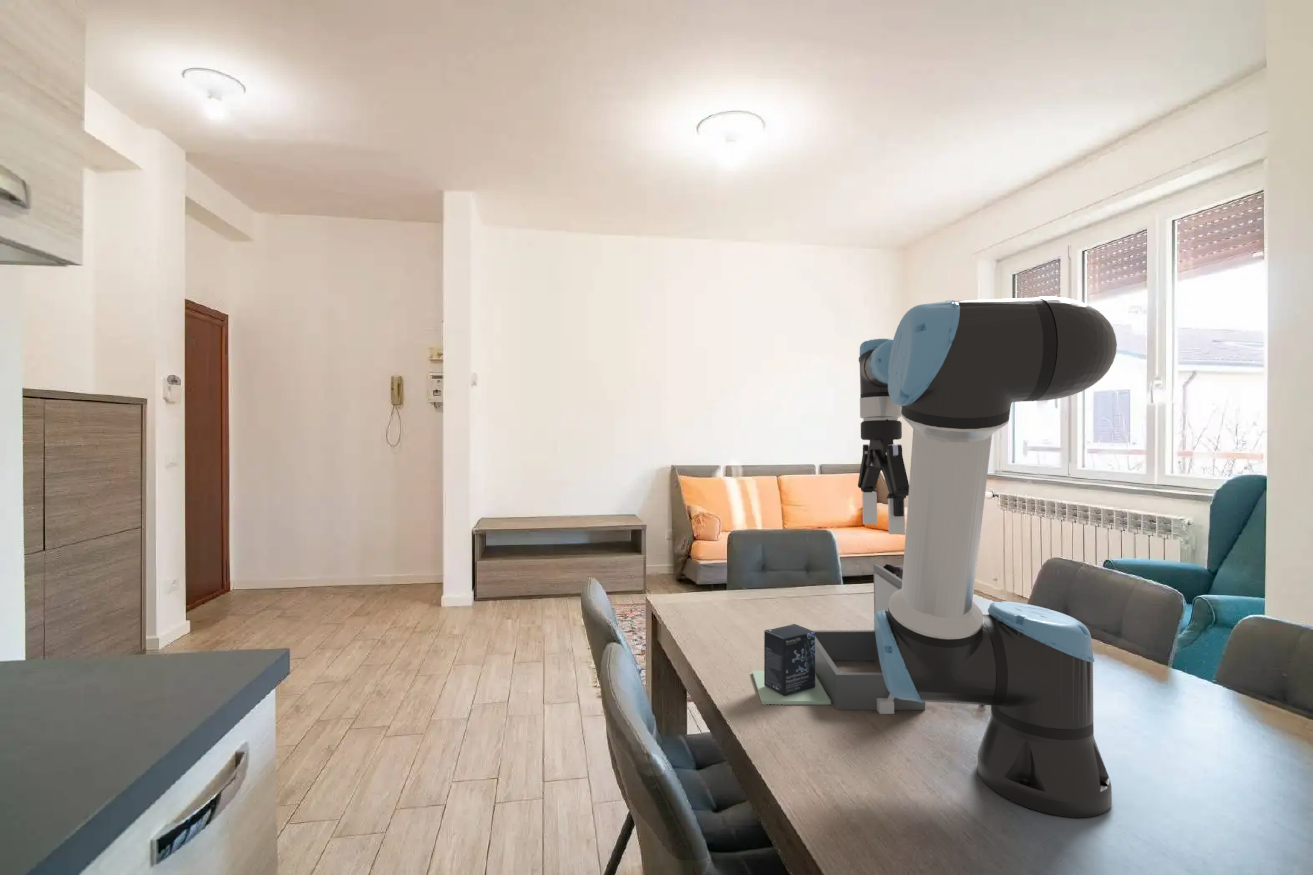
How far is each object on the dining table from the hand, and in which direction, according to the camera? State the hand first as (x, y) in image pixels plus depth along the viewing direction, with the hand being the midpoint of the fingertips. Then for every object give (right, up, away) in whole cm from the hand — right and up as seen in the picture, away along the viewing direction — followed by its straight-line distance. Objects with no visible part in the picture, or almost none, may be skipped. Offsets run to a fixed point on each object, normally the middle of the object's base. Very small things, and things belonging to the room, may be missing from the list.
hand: (882, 528), depth 118 cm
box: (-19, -29, -6) cm, 35 cm away
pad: (-19, -29, -4) cm, 35 cm away
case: (-5, -29, -2) cm, 29 cm away
